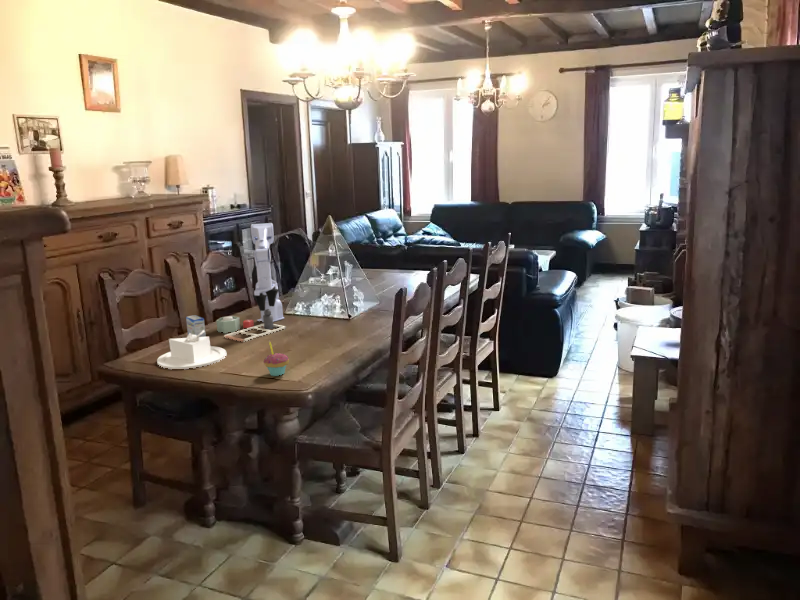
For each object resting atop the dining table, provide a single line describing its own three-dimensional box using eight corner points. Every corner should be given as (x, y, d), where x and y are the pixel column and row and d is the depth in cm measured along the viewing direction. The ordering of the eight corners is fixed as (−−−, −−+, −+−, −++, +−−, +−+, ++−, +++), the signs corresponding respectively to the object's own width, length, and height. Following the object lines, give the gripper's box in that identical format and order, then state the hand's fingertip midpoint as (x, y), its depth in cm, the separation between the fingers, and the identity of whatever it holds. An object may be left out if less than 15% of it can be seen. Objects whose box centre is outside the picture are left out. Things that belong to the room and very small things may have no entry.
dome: (230, 324, 288) (229, 314, 287) (238, 326, 284) (237, 316, 283) (218, 327, 283) (217, 318, 282) (227, 329, 280) (226, 319, 279)
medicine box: (187, 336, 277) (185, 316, 275) (197, 334, 279) (195, 314, 277) (196, 340, 271) (193, 320, 269) (206, 338, 274) (204, 317, 272)
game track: (266, 324, 290) (266, 322, 290) (286, 328, 282) (286, 326, 282) (224, 337, 273) (223, 335, 273) (243, 342, 265) (243, 339, 265)
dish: (238, 350, 256) (235, 322, 253) (202, 372, 232) (198, 341, 230) (183, 347, 263) (180, 320, 260) (143, 368, 239) (138, 338, 237)
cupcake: (261, 377, 223) (258, 343, 221) (269, 369, 232) (266, 336, 229) (286, 378, 222) (283, 343, 219) (293, 369, 230) (290, 336, 228)
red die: (247, 326, 288) (246, 319, 288) (253, 326, 287) (253, 319, 287) (243, 328, 285) (242, 321, 285) (250, 328, 284) (249, 321, 284)
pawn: (269, 327, 286) (267, 307, 284) (275, 328, 283) (274, 308, 281) (262, 329, 283) (260, 309, 281) (268, 330, 280) (266, 310, 278)
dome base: (230, 326, 290) (228, 315, 289) (244, 329, 284) (242, 318, 283) (214, 330, 284) (212, 319, 283) (228, 334, 278) (226, 322, 277)
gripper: (265, 273, 286) (267, 303, 289) (246, 280, 273) (249, 312, 276) (279, 273, 283) (282, 304, 286) (261, 280, 270) (264, 312, 273)
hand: (267, 308), depth 281 cm, fingers open, 7 cm apart
